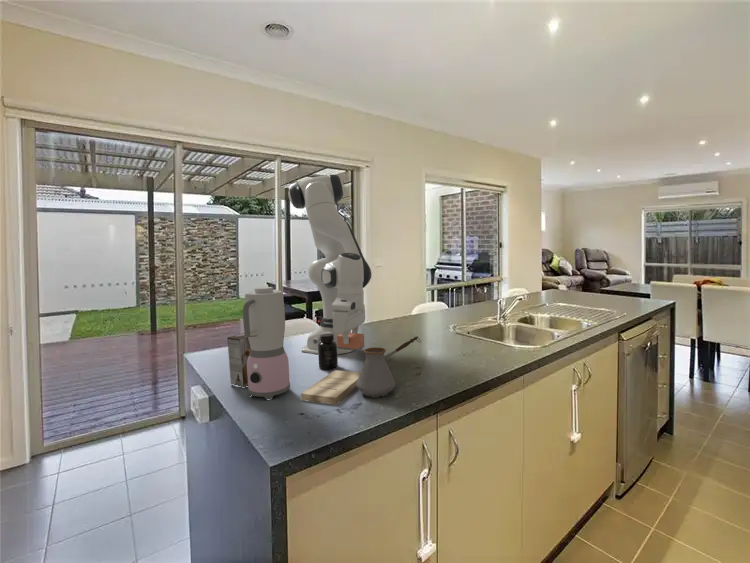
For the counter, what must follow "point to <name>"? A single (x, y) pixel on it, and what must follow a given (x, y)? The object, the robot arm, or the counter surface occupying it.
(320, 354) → the supplement bottle
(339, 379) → the maple board
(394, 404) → the counter surface
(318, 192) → the robot arm
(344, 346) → the block
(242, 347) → the coffee box
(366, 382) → the coffee pot
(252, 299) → the blender
